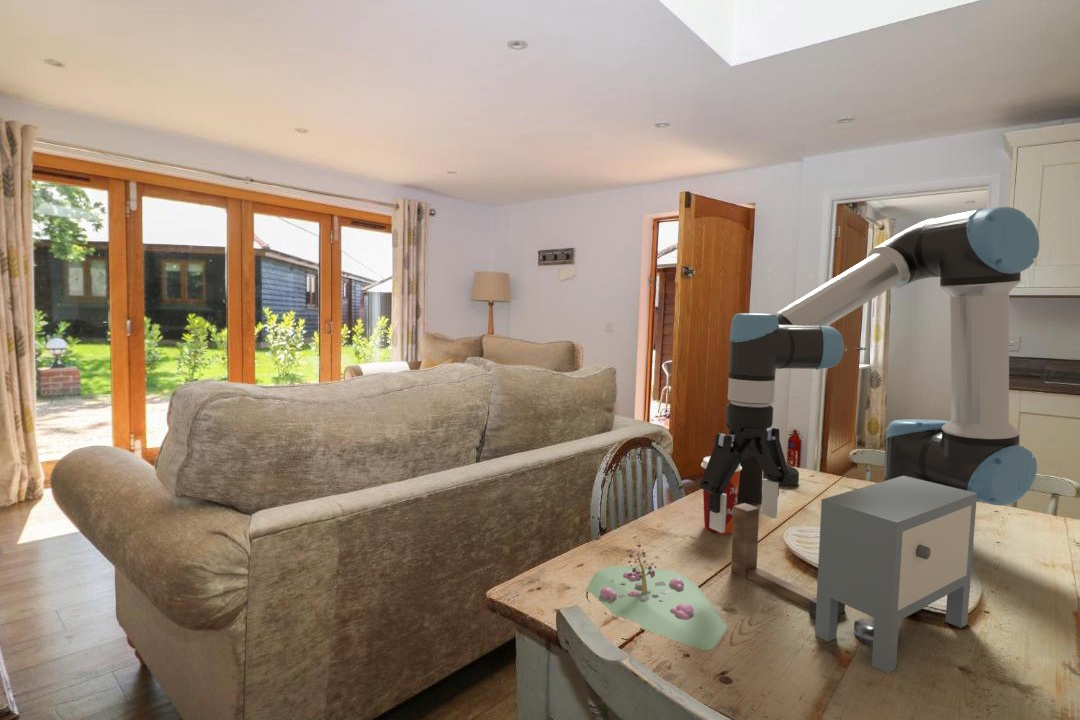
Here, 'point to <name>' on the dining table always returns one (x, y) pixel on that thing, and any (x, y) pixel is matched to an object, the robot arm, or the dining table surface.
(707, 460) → the coffee cup
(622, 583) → the miniature garden model
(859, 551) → the cabinet
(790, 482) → the smart speaker
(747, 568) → the pusher tool
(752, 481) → the container
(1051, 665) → the dining table surface
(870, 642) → the silver flat dome
